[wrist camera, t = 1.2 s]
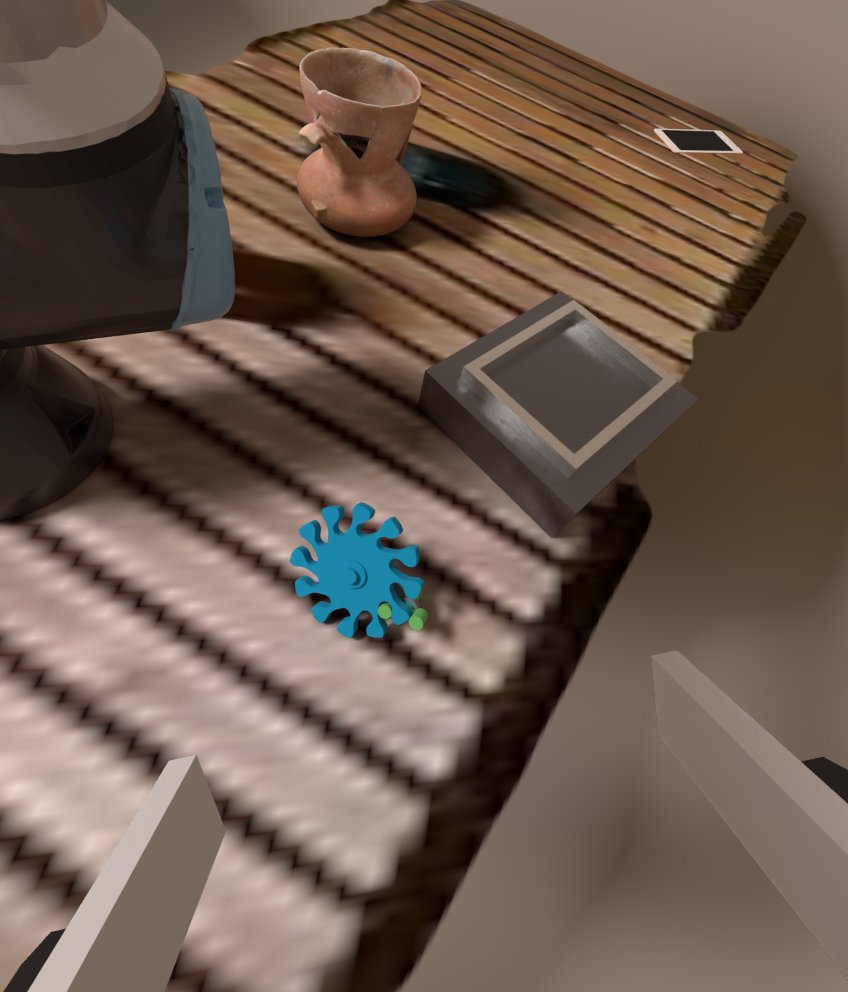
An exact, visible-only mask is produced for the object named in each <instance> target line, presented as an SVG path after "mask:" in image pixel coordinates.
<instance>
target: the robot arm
mask: <svg viewBox="0 0 848 992" xmlns="http://www.w3.org/2000/svg"><path fill="white" fill-rule="evenodd" d="M223 197H224V196H223V190H222V185H221V174H220V169H219V164H218V159H217V154H216V150H215V145H214V141H213V137H212V133H211V129H210V125H209V122H208V119H207V116H206V114H205V110H204V108H203V106H202V104H201V103H200V102H199V100H198V99H197V98H196V97H194V96H193V95H190V94H185V93H183V92H182V91H181V90H180V89H178V90H176V88H170V89H169V85H168V82H167V78H166V75H165V71H164V67H163V65H162V61H161V59H160V56H159V54H158V52H157V51H156V49H155V48H154V46H153V44H152V43H151V42H150V41H149V40H148V38H147V37H146V36H145V35H143V34H142V33H141V32H140V31H139V30H138V29H137V28H136V27H134V26H133V25H132V24H131V23H130V22H129V21H128V20H127V19H125V18H124V17H123V16H122V15H121V14H120V13H119V12H118V11H116V10H115V9H114V8H113V7H112V6H111V5H110V4H109V3H107V1H106V0H0V520H4V519H8V518H13V517H16V516H20V515H23V514H26V513H29V512H31V511H34V510H36V509H39V508H41V507H43V506H45V505H47V504H50V503H51V502H53V501H55V500H57V499H59V498H60V497H62V496H63V495H65V494H66V493H68V492H69V491H71V490H72V489H73V488H75V487H76V486H77V485H78V484H80V483H81V482H82V481H83V480H84V479H85V478H86V477H87V476H88V475H89V474H90V473H91V472H92V471H93V470H94V469H95V467H96V466H97V465H98V463H99V462H100V460H101V459H102V457H103V456H104V454H105V452H106V450H107V448H108V445H109V442H110V439H111V435H112V428H113V420H112V414H111V410H110V407H109V405H108V403H107V401H106V399H105V398H104V396H103V395H102V394H101V392H100V391H99V390H98V388H97V387H96V386H95V384H94V383H93V382H92V381H91V379H90V378H89V377H88V376H87V375H86V374H85V373H84V372H82V371H81V370H80V369H79V368H77V367H76V366H75V365H73V364H72V363H70V362H68V361H67V360H65V359H64V358H62V357H61V356H59V355H58V354H56V353H54V352H53V351H51V350H50V349H48V348H47V347H45V346H44V345H46V344H54V343H62V342H71V341H79V340H87V339H96V338H104V337H112V336H120V335H129V334H137V333H145V332H154V331H162V330H168V331H173V330H178V329H179V328H181V326H185V325H190V324H195V323H200V322H205V321H210V320H215V319H218V318H220V317H222V316H223V315H224V314H225V313H227V312H228V311H229V309H230V308H231V306H232V304H233V300H234V294H235V274H234V262H233V252H232V243H231V236H230V228H229V222H228V216H227V211H226V207H225V205H224V202H223ZM651 662H652V674H653V685H654V697H655V708H656V720H657V732H658V736H659V738H660V739H661V740H662V742H663V743H664V744H665V745H666V747H667V748H668V749H669V751H670V752H671V753H672V754H673V756H674V757H675V758H676V760H677V761H678V762H679V763H680V765H681V766H682V767H683V769H684V770H685V771H686V773H687V774H688V775H689V776H690V778H691V779H692V780H693V782H694V783H695V784H696V785H697V787H698V788H699V789H700V791H701V792H702V793H703V794H704V796H705V797H706V798H707V800H708V801H709V802H710V804H711V805H712V806H713V807H714V809H715V810H716V811H717V812H718V814H719V815H720V816H721V818H722V819H723V820H724V822H725V823H726V824H727V825H728V827H729V828H730V829H731V830H732V832H733V833H734V834H735V836H736V837H737V838H738V840H739V841H740V842H741V843H742V845H743V846H744V847H745V849H746V850H747V851H748V852H749V854H750V855H751V856H752V858H753V859H754V860H755V861H756V863H757V864H758V865H759V867H760V868H761V869H762V871H763V872H764V873H765V874H766V876H767V877H768V878H769V879H770V881H771V882H772V883H773V885H774V886H775V887H776V889H777V890H778V891H779V892H780V894H781V895H782V896H783V898H784V899H785V900H786V901H787V903H788V904H789V905H790V906H791V908H792V909H793V910H794V912H795V913H796V914H797V916H798V917H799V918H800V920H801V921H802V922H803V923H804V925H805V926H806V927H807V929H808V930H809V931H810V932H811V934H812V935H813V936H814V938H815V939H816V940H817V941H818V943H819V944H820V945H821V947H822V948H823V949H824V950H825V952H826V953H827V954H828V956H829V957H830V958H831V959H832V961H833V962H834V963H835V965H836V966H837V967H838V968H839V970H840V971H841V972H842V974H843V975H844V976H845V978H846V979H847V980H848V770H847V769H845V768H843V767H841V766H839V765H837V764H835V763H834V762H832V761H830V760H828V759H826V758H824V757H820V758H816V759H811V760H807V761H802V762H801V761H800V760H798V759H797V758H796V757H795V756H794V755H793V754H792V753H791V752H790V751H788V750H787V749H786V748H785V747H784V746H783V745H782V744H780V743H779V742H778V741H777V740H776V739H775V738H774V737H773V736H772V735H771V734H770V733H768V732H767V731H766V730H765V729H764V728H763V727H762V726H761V725H760V724H758V723H757V722H756V721H755V720H754V719H753V718H751V716H749V715H748V714H747V713H746V712H745V711H744V710H743V709H742V708H741V707H739V706H738V705H737V704H736V703H735V702H734V701H733V700H732V699H731V698H730V697H728V696H727V695H726V694H725V693H724V692H723V691H722V690H721V689H720V688H718V687H717V686H716V685H715V684H714V683H713V682H712V681H711V680H710V679H708V678H707V677H706V676H705V675H704V674H702V672H701V671H700V670H698V669H697V668H696V667H695V666H694V665H693V664H692V663H691V662H690V661H688V660H687V659H686V658H685V657H684V656H683V655H682V654H681V653H680V652H678V651H677V650H675V651H670V652H666V653H661V654H657V655H652V656H651ZM225 832H226V831H225V829H224V826H223V823H222V821H221V818H220V815H219V813H218V810H217V808H216V805H215V802H214V800H213V797H212V794H211V792H210V789H209V787H208V784H207V781H206V779H205V776H204V773H203V771H202V768H201V766H200V763H199V760H198V758H197V755H193V756H189V757H184V758H179V759H175V760H170V761H169V762H168V764H167V765H166V767H165V768H164V770H163V772H162V773H161V775H160V777H159V778H158V780H157V781H156V783H155V785H154V786H153V788H152V790H151V791H150V793H149V795H148V796H147V798H146V799H145V801H144V803H143V804H142V806H141V808H140V809H139V811H138V812H137V814H136V816H135V817H134V819H133V821H132V822H131V824H130V826H129V827H128V829H127V830H126V832H125V834H124V835H123V837H122V839H121V840H120V842H119V843H118V845H117V847H116V848H115V850H114V852H113V853H112V855H111V857H110V858H109V860H108V861H107V863H106V865H105V866H104V868H103V870H102V871H101V873H100V874H99V876H98V878H97V879H96V881H95V883H94V884H93V886H92V888H91V889H90V891H89V892H88V894H87V896H86V897H85V899H84V901H83V902H82V904H81V905H80V907H79V909H78V910H77V912H76V914H75V915H74V917H73V918H72V920H71V922H70V923H69V925H68V927H67V928H66V929H62V930H58V931H54V932H51V933H50V934H49V935H48V936H47V937H46V938H45V939H44V940H43V941H42V942H41V944H40V945H39V946H38V947H37V948H36V949H35V950H34V951H33V952H32V954H31V955H30V956H29V957H28V958H27V959H26V960H25V961H24V962H23V963H22V965H21V966H20V967H19V969H18V970H17V972H16V973H15V975H14V976H13V978H12V980H11V981H10V983H9V984H8V986H7V987H6V989H5V990H4V992H164V991H165V988H166V985H167V983H168V980H169V978H170V975H171V972H172V970H173V967H174V965H175V962H176V959H177V957H178V954H179V952H180V949H181V946H182V944H183V941H184V939H185V936H186V933H187V931H188V928H189V926H190V923H191V920H192V918H193V915H194V913H195V910H196V907H197V905H198V902H199V900H200V897H201V894H202V892H203V889H204V887H205V884H206V881H207V879H208V876H209V874H210V871H211V868H212V866H213V863H214V861H215V858H216V855H217V853H218V850H219V848H220V845H221V842H222V840H223V837H224V835H225Z"/></svg>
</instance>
